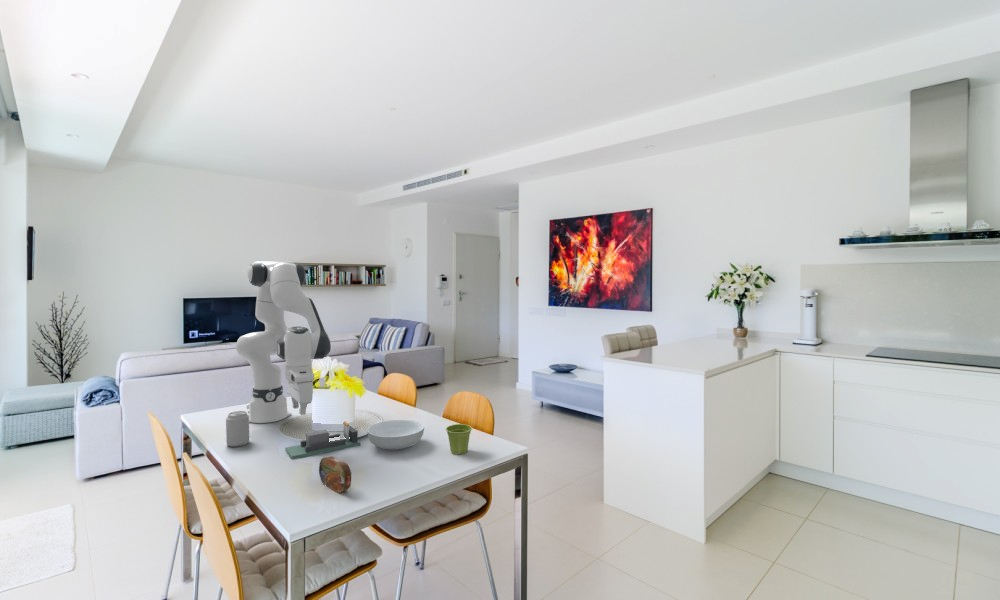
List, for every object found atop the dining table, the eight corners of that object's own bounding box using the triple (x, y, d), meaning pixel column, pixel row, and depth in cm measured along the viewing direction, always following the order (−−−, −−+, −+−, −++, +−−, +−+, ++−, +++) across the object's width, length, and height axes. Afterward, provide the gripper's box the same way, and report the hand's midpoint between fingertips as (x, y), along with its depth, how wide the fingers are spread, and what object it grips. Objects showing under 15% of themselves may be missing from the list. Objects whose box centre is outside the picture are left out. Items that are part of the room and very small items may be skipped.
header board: (285, 450, 167) (284, 429, 167) (351, 437, 181) (351, 417, 181) (291, 459, 159) (291, 436, 159) (359, 444, 173) (359, 424, 173)
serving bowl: (435, 443, 176) (435, 425, 176) (394, 460, 159) (394, 441, 159) (397, 432, 188) (397, 415, 188) (355, 447, 171) (355, 429, 170)
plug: (306, 446, 169) (305, 433, 169) (326, 442, 173) (326, 429, 173) (308, 449, 166) (308, 436, 165) (329, 445, 170) (329, 432, 170)
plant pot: (464, 458, 161) (464, 433, 161) (440, 453, 165) (440, 430, 165) (476, 449, 170) (476, 426, 169) (454, 445, 174) (454, 422, 173)
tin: (318, 481, 142) (317, 454, 142) (327, 478, 145) (327, 451, 144) (343, 497, 132) (343, 468, 132) (353, 493, 135) (353, 464, 134)
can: (239, 448, 169) (238, 416, 168) (221, 446, 170) (220, 414, 170) (254, 441, 176) (253, 410, 176) (237, 440, 178) (236, 409, 177)
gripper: (282, 369, 171) (282, 405, 171) (296, 379, 154) (296, 419, 155) (300, 367, 174) (300, 403, 175) (316, 376, 158) (316, 416, 159)
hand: (299, 411), depth 165 cm, fingers open, 8 cm apart
